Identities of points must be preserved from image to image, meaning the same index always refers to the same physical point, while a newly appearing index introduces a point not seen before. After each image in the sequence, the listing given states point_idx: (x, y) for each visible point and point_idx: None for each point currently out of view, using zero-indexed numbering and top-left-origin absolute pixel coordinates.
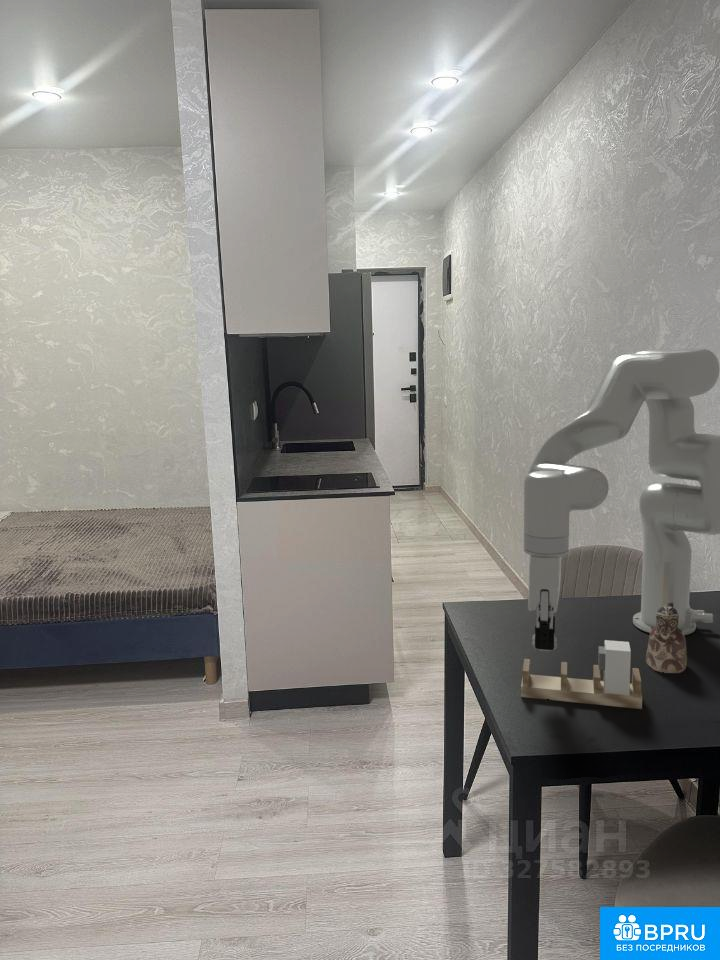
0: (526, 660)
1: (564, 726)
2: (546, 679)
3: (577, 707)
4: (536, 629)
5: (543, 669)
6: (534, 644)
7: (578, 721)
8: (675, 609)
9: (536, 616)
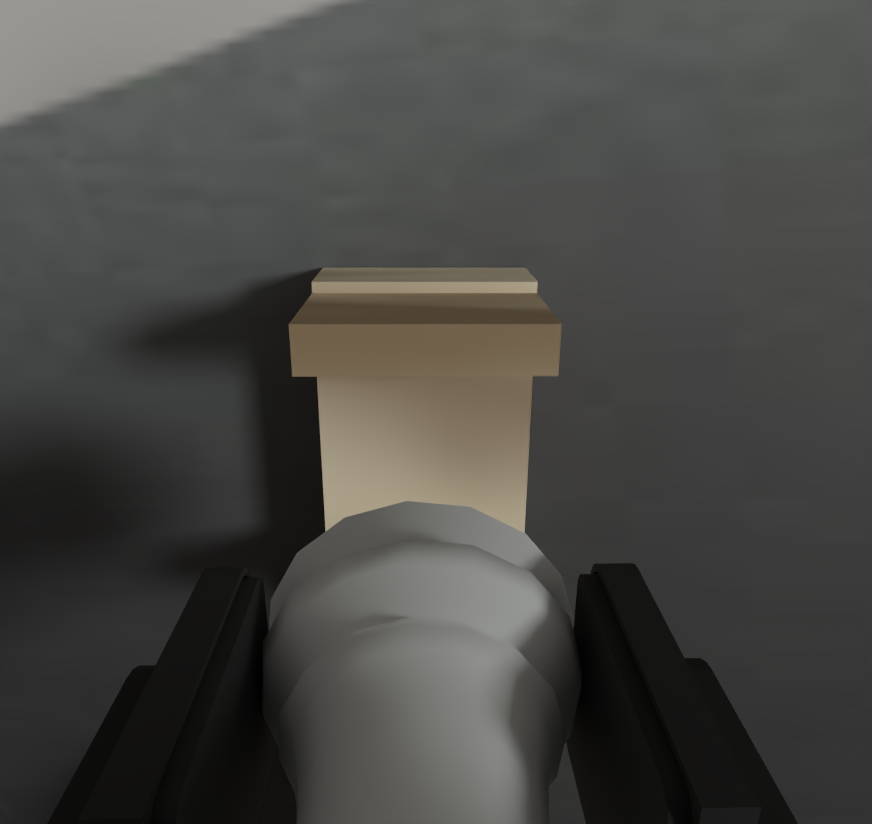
0: (521, 346)
1: (37, 534)
2: (471, 457)
3: None
4: (104, 796)
5: (774, 397)
6: (349, 544)
7: (123, 600)
8: None
9: (696, 804)
